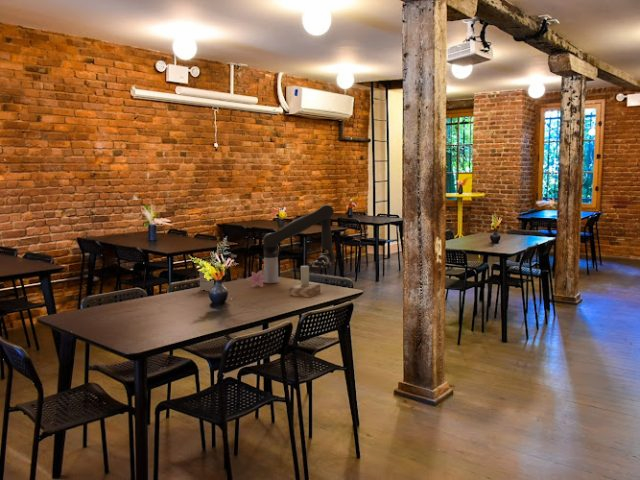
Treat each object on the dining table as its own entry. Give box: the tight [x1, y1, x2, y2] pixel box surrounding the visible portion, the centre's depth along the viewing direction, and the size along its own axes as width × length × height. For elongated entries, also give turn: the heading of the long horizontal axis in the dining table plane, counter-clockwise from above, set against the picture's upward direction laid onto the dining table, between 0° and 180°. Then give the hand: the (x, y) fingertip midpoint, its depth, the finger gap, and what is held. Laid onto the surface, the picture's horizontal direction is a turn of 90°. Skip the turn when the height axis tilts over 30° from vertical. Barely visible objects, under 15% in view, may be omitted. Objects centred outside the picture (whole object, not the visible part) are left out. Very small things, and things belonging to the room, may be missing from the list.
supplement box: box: [199, 262, 214, 292], centre depth 376 cm, size 10×9×17 cm
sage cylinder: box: [300, 265, 310, 287], centre depth 358 cm, size 5×5×12 cm
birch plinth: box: [288, 282, 321, 298], centre depth 359 cm, size 14×14×5 cm
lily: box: [245, 269, 267, 288], centre depth 387 cm, size 12×12×10 cm
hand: (317, 266), depth 367 cm, fingers open, 8 cm apart
